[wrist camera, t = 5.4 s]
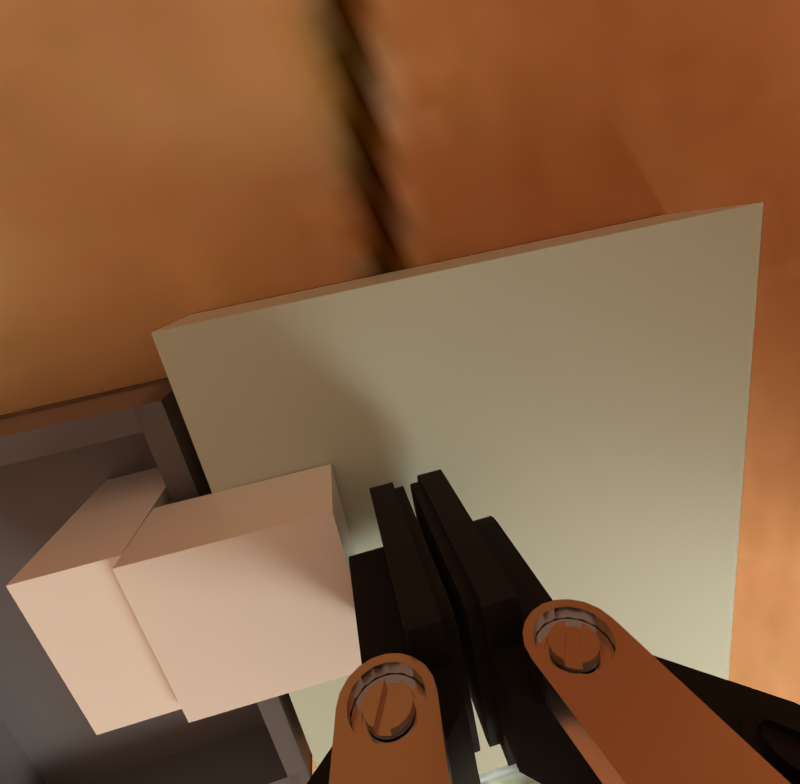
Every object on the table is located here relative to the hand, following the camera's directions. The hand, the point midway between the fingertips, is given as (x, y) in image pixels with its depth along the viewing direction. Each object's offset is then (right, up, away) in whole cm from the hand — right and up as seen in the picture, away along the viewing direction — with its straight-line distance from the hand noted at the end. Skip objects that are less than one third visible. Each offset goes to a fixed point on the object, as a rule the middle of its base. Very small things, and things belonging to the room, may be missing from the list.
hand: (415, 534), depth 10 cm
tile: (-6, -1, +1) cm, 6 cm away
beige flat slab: (+2, -1, +5) cm, 5 cm away
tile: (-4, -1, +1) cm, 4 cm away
